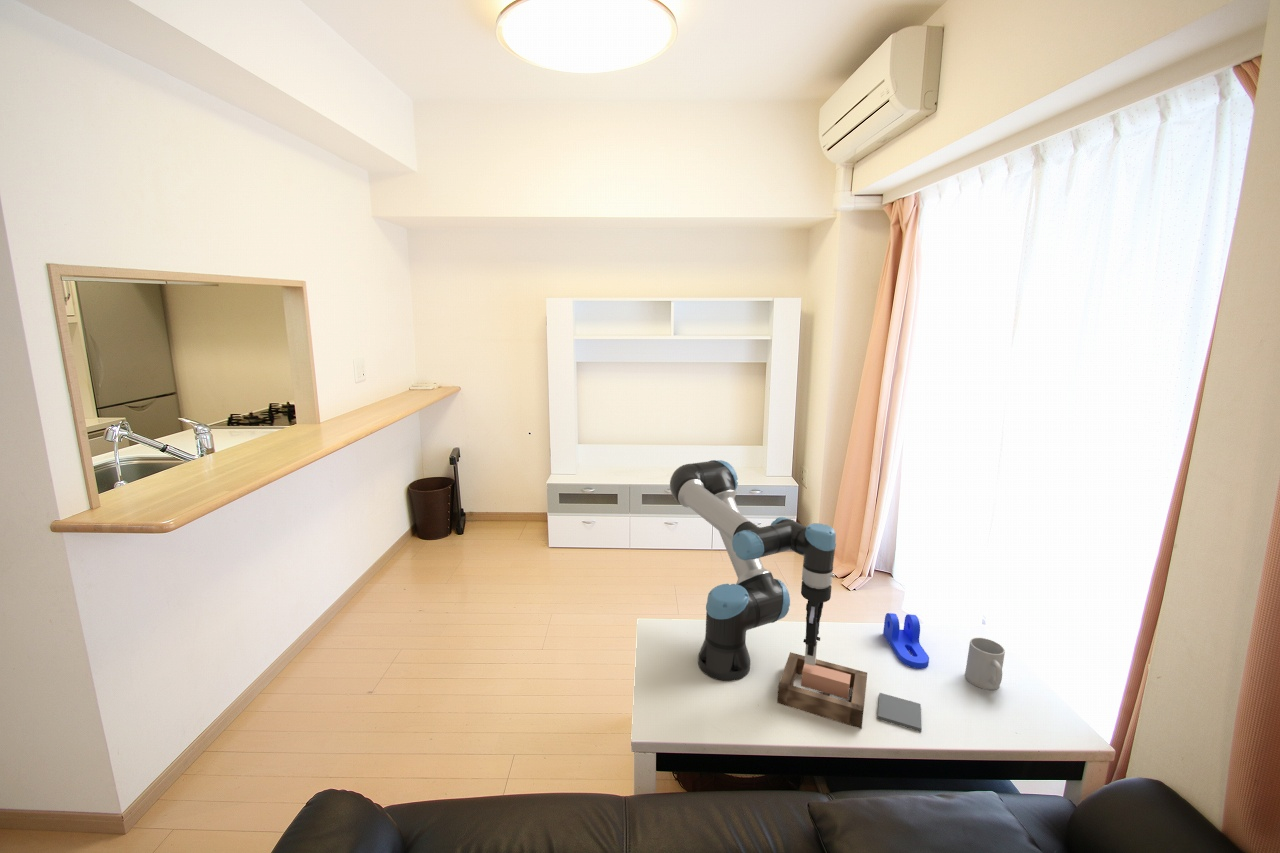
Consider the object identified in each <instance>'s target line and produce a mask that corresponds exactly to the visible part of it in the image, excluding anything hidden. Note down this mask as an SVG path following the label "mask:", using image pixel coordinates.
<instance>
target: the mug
mask: <svg viewBox="0 0 1280 853" xmlns="http://www.w3.org/2000/svg"><path fill="white" fill-rule="evenodd" d="M1005 653H1006V651H1005V648H1004V646H1002V645H1001V644H1000V643H998V642H996V641H994V640H991V639H989V638H984V637H973V638H972V639H970V641H969V645H968V654H967V660H966V664H965V665H966V666H965V672H964V678H965V679H966V680H967V681H968V682H969V683H970V684H971V685H973V686H975V687H977V688H980V689H983V690H987V691H995V690H997V689H999V688H1000V685H1001V683H1002V680H1003V667H1004V661H1005V660H1004V659H1005Z"/></svg>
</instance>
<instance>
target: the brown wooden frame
mask: <svg viewBox="0 0 1280 853" xmlns="http://www.w3.org/2000/svg"><path fill="white" fill-rule="evenodd" d="M804 662H805V655H802V654H800V653H794V652H792V651H790V652H789V654H788V657H787V660H786V663H785V665H784V668H783V672H782V674H781V678H780V681H779V683H778V687H777V700H776V703H777V704H779V705H782V706H787V707H789V708H793V709H796V710H799V711H802V712H805V713H808V714H811V715H815V716H819V717H822V718H825V719H828V720H832V721H835V722H838V723H841V724H845V725H848V726H851V727H855V728H858V729H861V730H862V729H863V720H864V709H865V701H866V700H865V699H866V691H867V679H868V671H867V672H866V671H863V670H859V669H855V668H851V667H848V666H843V665H842V664H841V665H840V664H835V663H834V662H833V663H832V662H829V661H824V660H821V659H817V658H816V663H815V665H817V666H821V667H824V668H828V669H832V670H836V671H839V672H843V673H847V674H850V675H851V678H850V688H849V695H848V700H843V699H841V698H836V697H835V696H834V697H833V696H831V694H827V693H824V692H822V693H820V692H818V691H817V692H816V691H814V690H813V691H812V690H811V689H807V688H806V689H805V688H804V687H799V686H795V685H794V682H795V680H796V676H797V675H799V676H802V670H803V667H804Z"/></svg>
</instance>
